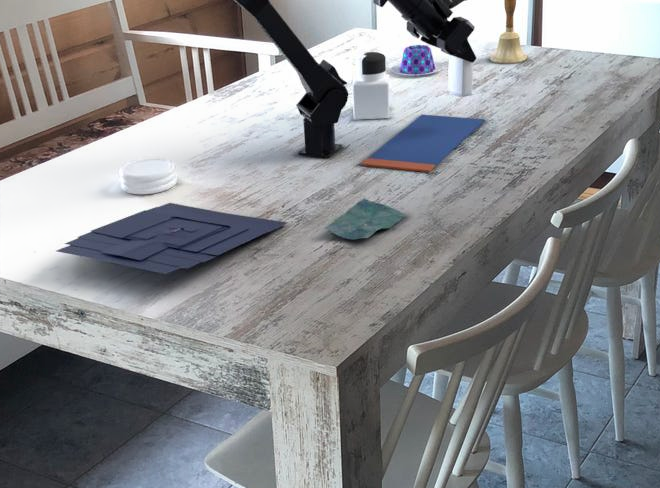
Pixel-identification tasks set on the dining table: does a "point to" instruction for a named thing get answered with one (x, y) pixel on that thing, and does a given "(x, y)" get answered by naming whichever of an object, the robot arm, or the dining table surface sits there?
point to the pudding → (417, 62)
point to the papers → (169, 237)
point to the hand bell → (509, 40)
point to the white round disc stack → (148, 176)
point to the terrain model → (364, 220)
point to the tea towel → (423, 143)
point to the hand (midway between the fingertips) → (467, 57)
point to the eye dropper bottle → (460, 76)
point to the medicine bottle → (370, 87)
